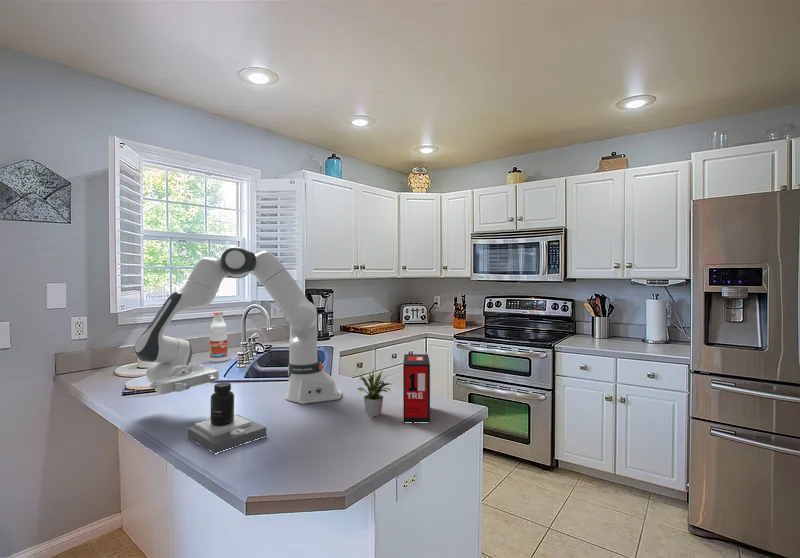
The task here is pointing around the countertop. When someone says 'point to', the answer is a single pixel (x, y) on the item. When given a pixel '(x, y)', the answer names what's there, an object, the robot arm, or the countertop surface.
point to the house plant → (373, 394)
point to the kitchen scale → (226, 433)
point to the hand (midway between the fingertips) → (201, 383)
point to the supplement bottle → (222, 405)
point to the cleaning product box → (416, 388)
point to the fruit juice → (218, 339)
